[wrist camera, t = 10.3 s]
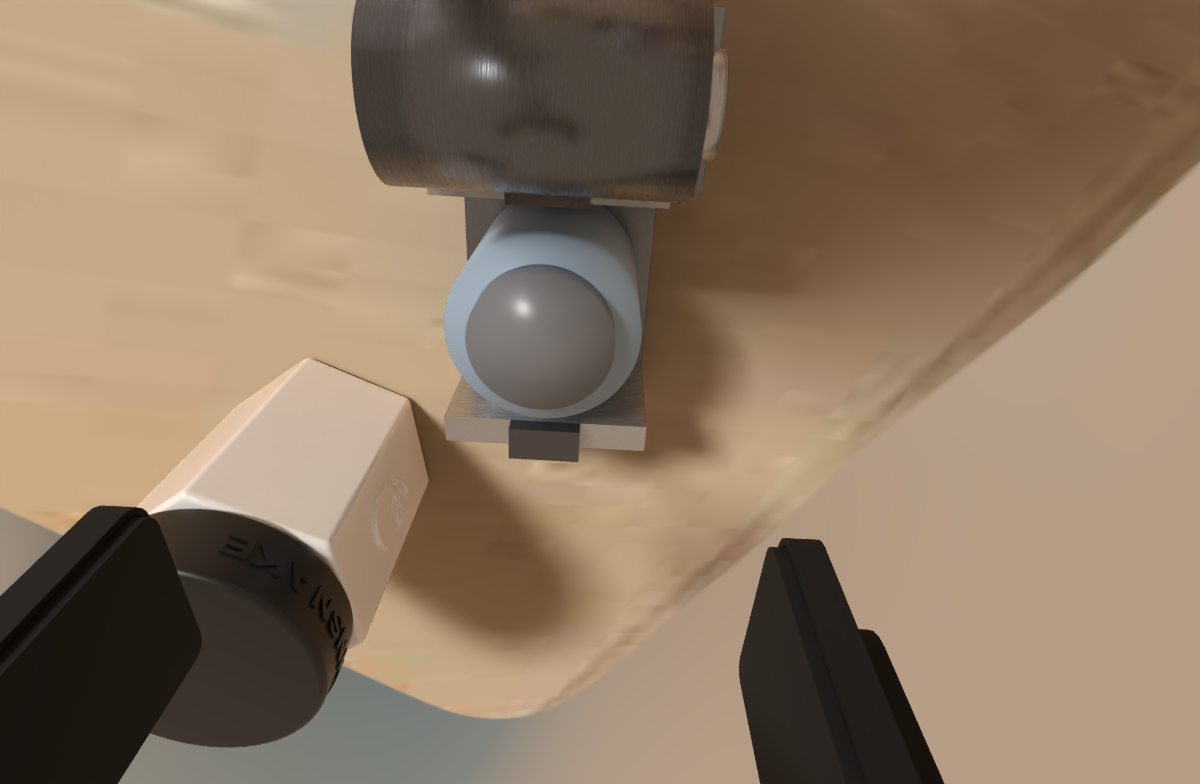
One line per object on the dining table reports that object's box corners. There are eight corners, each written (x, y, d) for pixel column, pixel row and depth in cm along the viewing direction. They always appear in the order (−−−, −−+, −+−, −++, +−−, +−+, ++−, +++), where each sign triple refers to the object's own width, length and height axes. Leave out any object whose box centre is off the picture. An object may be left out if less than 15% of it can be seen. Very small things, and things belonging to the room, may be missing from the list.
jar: (443, 515, 32) (359, 756, 21) (280, 521, 32) (119, 761, 22) (404, 350, 27) (275, 550, 17) (217, 360, 28) (-24, 561, 17)
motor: (651, 388, 28) (669, 556, 19) (463, 378, 28) (394, 542, 19) (692, 7, 21) (750, -9, 12) (442, -9, 21) (316, -36, 12)
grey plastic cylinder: (477, 185, 23) (431, 237, 17) (642, 196, 23) (652, 251, 18) (482, 336, 26) (443, 425, 20) (628, 345, 26) (633, 437, 20)
